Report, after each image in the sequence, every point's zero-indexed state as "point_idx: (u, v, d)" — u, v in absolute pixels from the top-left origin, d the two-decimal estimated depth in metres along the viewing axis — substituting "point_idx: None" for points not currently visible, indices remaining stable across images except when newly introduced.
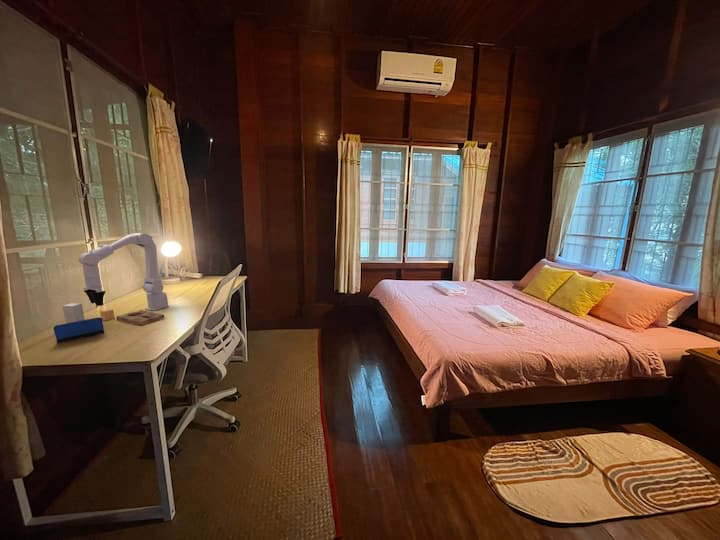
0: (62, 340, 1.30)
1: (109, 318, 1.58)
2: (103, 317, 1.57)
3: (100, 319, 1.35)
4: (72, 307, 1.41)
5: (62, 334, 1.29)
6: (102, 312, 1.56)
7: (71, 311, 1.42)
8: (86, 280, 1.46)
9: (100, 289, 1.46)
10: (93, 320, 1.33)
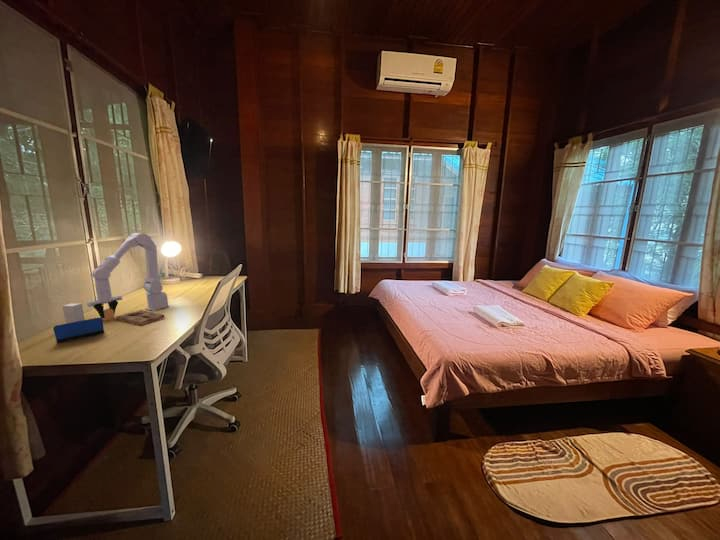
0: (62, 340, 1.30)
1: (109, 318, 1.58)
2: None
3: (100, 319, 1.35)
4: (72, 307, 1.41)
5: (62, 334, 1.28)
6: None
7: (71, 311, 1.42)
8: None
9: (88, 304, 1.50)
10: (93, 320, 1.33)
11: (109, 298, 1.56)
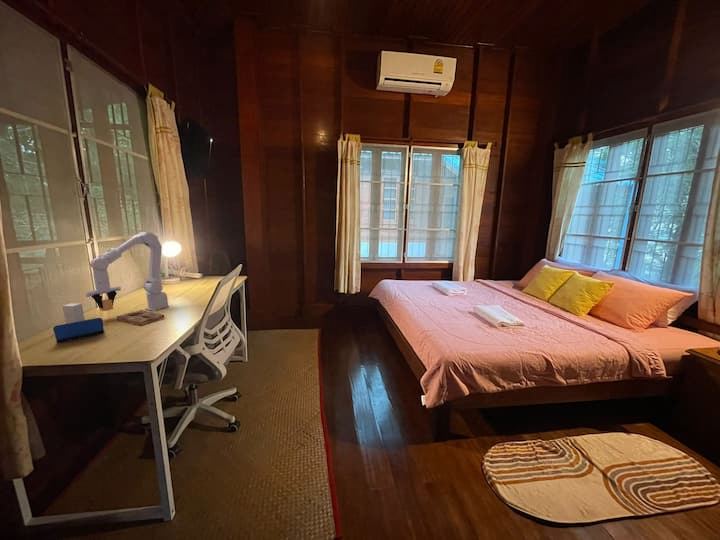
0: (62, 340, 1.30)
1: (108, 308, 1.57)
2: None
3: (100, 319, 1.35)
4: (72, 307, 1.41)
5: (62, 334, 1.28)
6: None
7: (71, 311, 1.42)
8: None
9: (86, 294, 1.50)
10: (93, 320, 1.33)
11: (108, 288, 1.55)
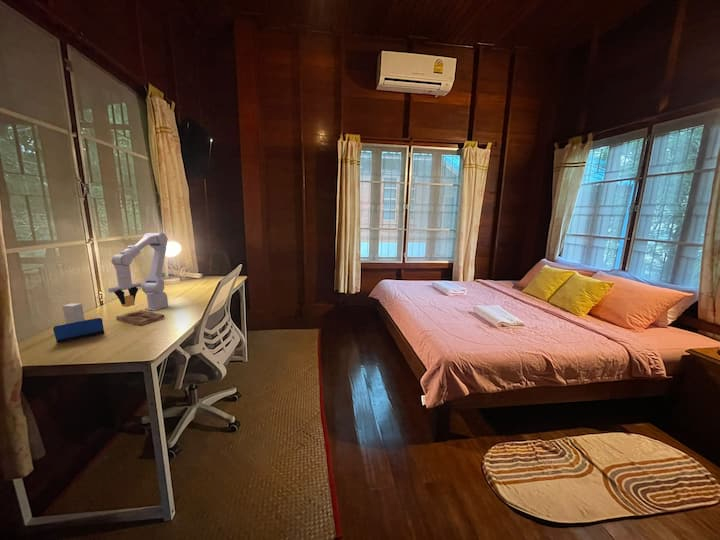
0: (62, 341, 1.30)
1: (129, 304, 1.58)
2: None
3: (100, 320, 1.34)
4: (72, 307, 1.41)
5: (62, 335, 1.28)
6: None
7: (71, 311, 1.42)
8: None
9: (109, 290, 1.50)
10: (93, 321, 1.33)
11: (130, 284, 1.56)
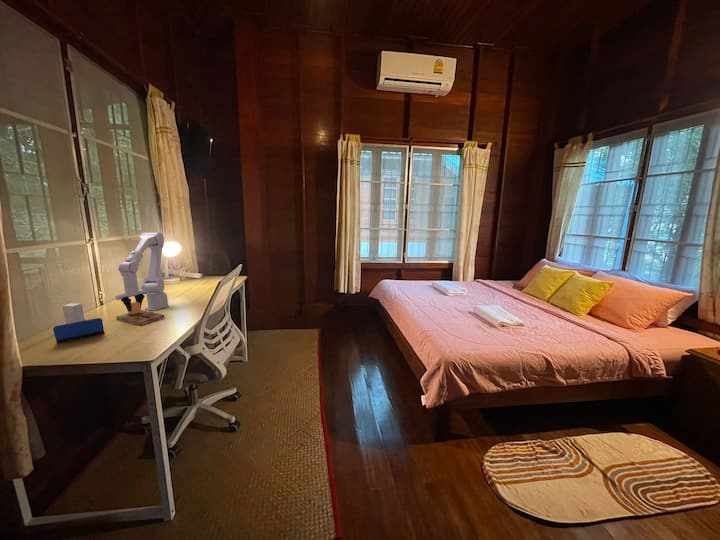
0: (62, 341, 1.29)
1: (136, 311, 1.58)
2: None
3: (100, 320, 1.34)
4: (72, 307, 1.41)
5: (62, 335, 1.28)
6: None
7: (71, 311, 1.42)
8: None
9: (116, 297, 1.51)
10: (93, 321, 1.32)
11: (136, 291, 1.57)
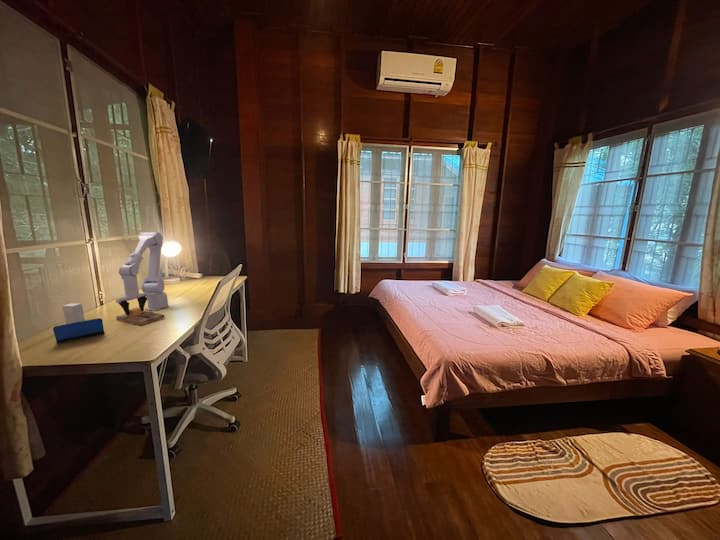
0: (62, 341, 1.29)
1: None
2: (131, 316, 1.58)
3: (100, 320, 1.34)
4: (72, 307, 1.41)
5: (62, 335, 1.28)
6: (130, 311, 1.58)
7: (71, 311, 1.42)
8: None
9: (117, 300, 1.52)
10: (93, 321, 1.32)
11: (137, 294, 1.58)
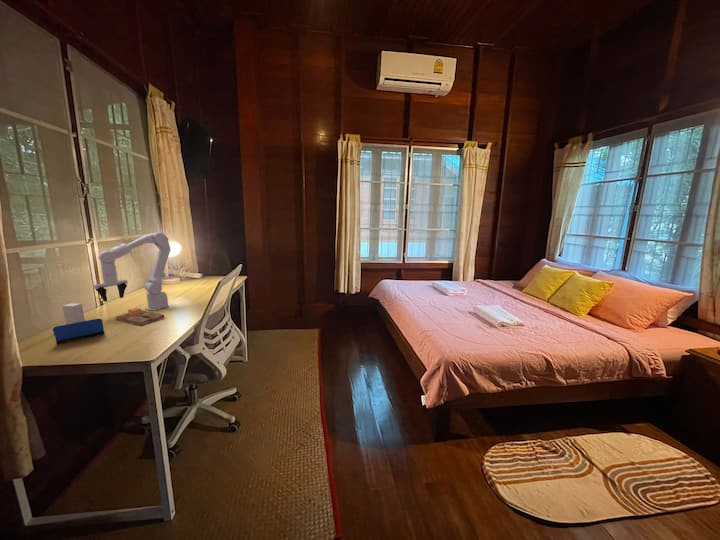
0: (62, 341, 1.29)
1: None
2: (131, 316, 1.58)
3: (100, 320, 1.34)
4: (72, 307, 1.41)
5: (62, 335, 1.27)
6: (130, 311, 1.58)
7: (71, 311, 1.42)
8: None
9: (95, 286, 1.53)
10: (93, 321, 1.32)
11: (115, 281, 1.59)
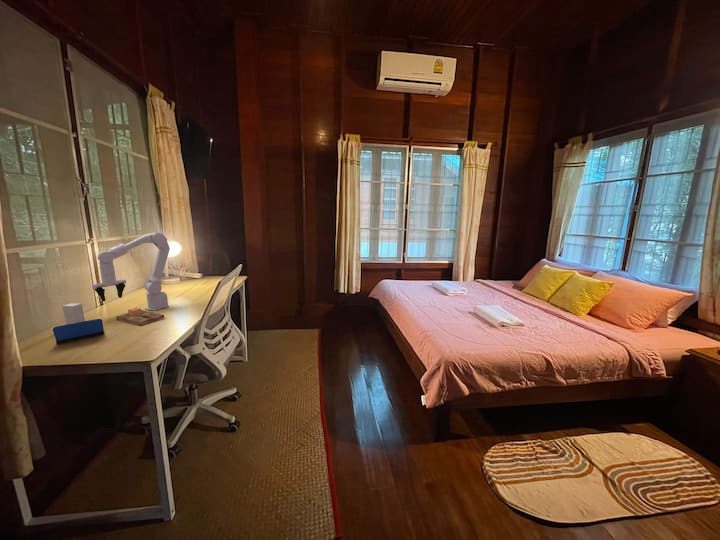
0: (62, 341, 1.29)
1: None
2: (131, 316, 1.58)
3: (100, 320, 1.33)
4: (72, 307, 1.41)
5: (62, 335, 1.27)
6: (130, 311, 1.58)
7: (71, 311, 1.42)
8: None
9: (93, 286, 1.53)
10: (93, 321, 1.32)
11: (113, 281, 1.59)
